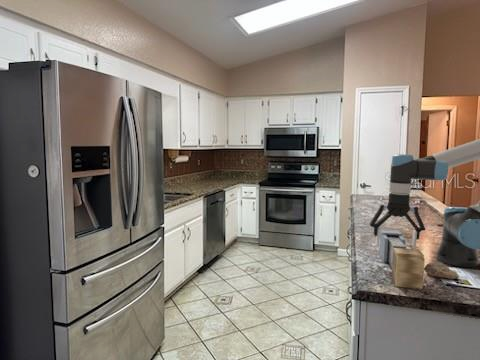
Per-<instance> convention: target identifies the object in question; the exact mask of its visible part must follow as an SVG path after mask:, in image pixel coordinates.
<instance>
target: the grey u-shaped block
mask: <svg viewBox="0 0 480 360" xmlns="http://www.w3.org/2000/svg"><path fill="white" fill-rule="evenodd" d="M386 235H396V236H397V237H398V238H399V239H400V240H401V242H402V243H403V244H404V245H405V246H406V239H405V237H404V236H403V234H402V232H401V231H397V230H381V229H380V236H379V245H378V246H379V248H378V249H379V250H378V255H379V257H380V258H381V260H382V262H383V263H388V260H387V251H388V238H387V236H386Z"/></svg>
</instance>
